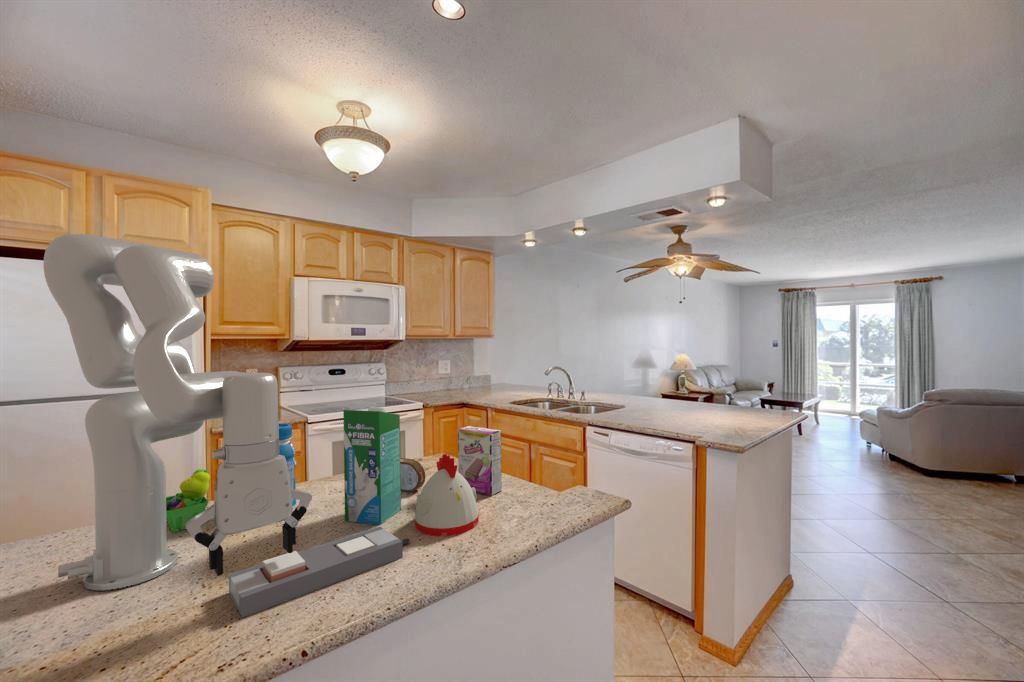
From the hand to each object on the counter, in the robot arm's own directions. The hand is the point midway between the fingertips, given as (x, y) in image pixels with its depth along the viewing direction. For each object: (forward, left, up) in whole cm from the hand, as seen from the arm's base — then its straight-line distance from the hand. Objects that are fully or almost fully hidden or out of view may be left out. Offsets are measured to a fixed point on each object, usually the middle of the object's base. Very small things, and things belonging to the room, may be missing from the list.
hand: (254, 560), depth 70 cm
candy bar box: (+56, +14, -6) cm, 58 cm away
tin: (+41, +30, -6) cm, 52 cm away
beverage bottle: (+13, +38, -6) cm, 41 cm away
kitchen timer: (+38, +3, -6) cm, 39 cm away
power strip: (+12, 0, -6) cm, 14 cm away
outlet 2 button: (+16, 0, -5) cm, 17 cm away
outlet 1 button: (+4, 0, -4) cm, 6 cm away
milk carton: (+28, +18, -6) cm, 34 cm away
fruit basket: (-4, +44, -6) cm, 45 cm away
